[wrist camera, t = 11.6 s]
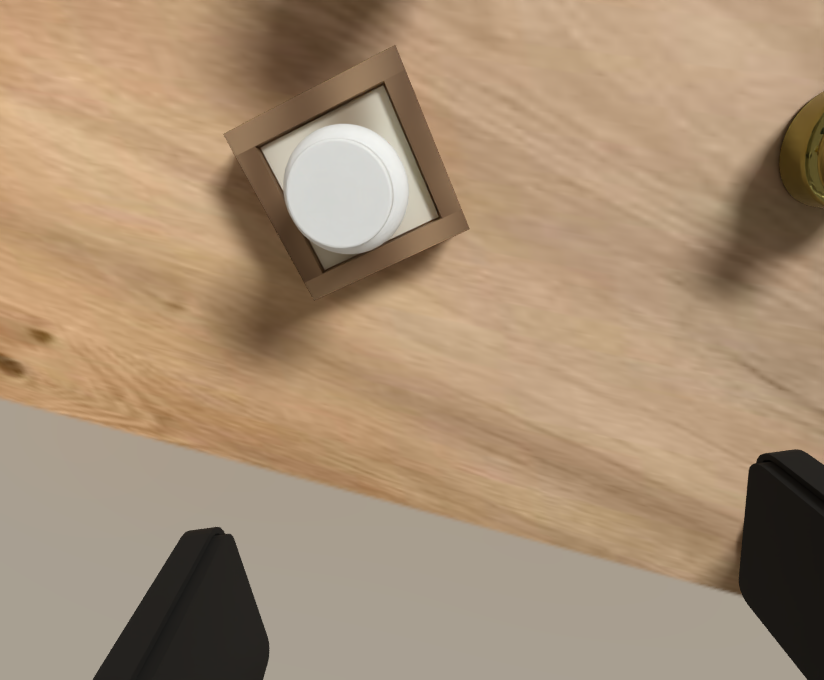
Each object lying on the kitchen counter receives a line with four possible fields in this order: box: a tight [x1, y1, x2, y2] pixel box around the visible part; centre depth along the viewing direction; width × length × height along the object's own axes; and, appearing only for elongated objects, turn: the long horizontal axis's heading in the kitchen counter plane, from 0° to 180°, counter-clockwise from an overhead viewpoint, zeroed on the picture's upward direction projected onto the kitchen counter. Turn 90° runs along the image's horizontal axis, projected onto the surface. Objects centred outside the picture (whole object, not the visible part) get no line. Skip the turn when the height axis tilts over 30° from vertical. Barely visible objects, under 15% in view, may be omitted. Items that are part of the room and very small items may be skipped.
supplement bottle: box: [283, 124, 409, 254], centre depth 22 cm, size 5×5×10 cm
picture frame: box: [223, 45, 469, 301], centre depth 28 cm, size 10×10×4 cm
